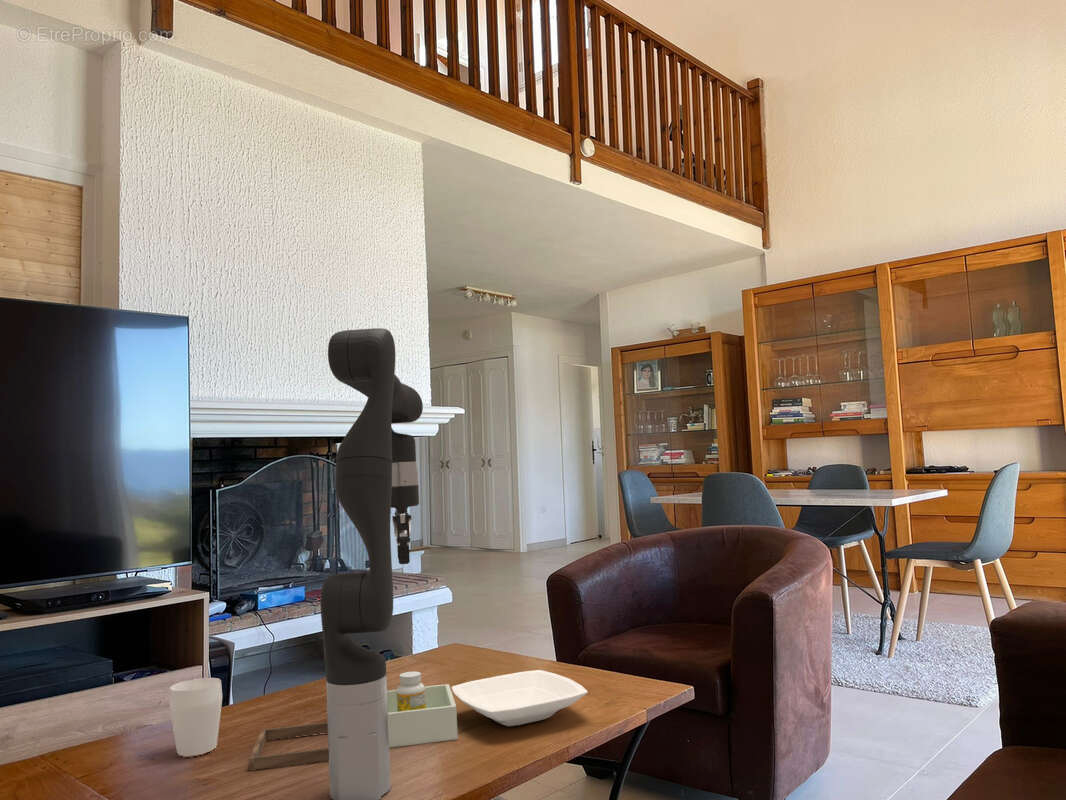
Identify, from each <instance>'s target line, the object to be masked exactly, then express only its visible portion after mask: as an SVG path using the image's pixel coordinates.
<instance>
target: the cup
mask: <svg viewBox="0 0 1066 800" xmlns="http://www.w3.org/2000/svg"><path fill="white" fill-rule="evenodd" d="M222 691H223V689H222V680H221V679H220V678H216V677H201V678H200V677H199V678H193V679H188V680H183V681H180V682H178V683H175V684H173V685H171V686H170V687H169V701H168V702H169V703H168V706H169V713H170V719H171V725H172V731H173V737H174V738H173V739H174V743H175V748H176V750H175V751H176V754H177V753H178V754H179V755H184V756H191V755H198V754H203V753H206V752H209V751H211V750H213V749H214V748H216V749H217V747H216V746H217V745H218V739H219V730H220V729H219V728H220V721H221V713H222V705H223V704H222V703H223V692H222Z"/></svg>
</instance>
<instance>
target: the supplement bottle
mask: <svg viewBox="0 0 1066 800" xmlns="http://www.w3.org/2000/svg"><path fill="white" fill-rule="evenodd" d="M421 681H422V673H421V672H419V671H406V672H402V673H400V674H399V683H400V685H399V686H398V687H397V689H396V690H397V708H398V712H400V711H409V710H417V709H426V696H425V687H426V686H425V685H424V684H423V683H422V682H421Z"/></svg>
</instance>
